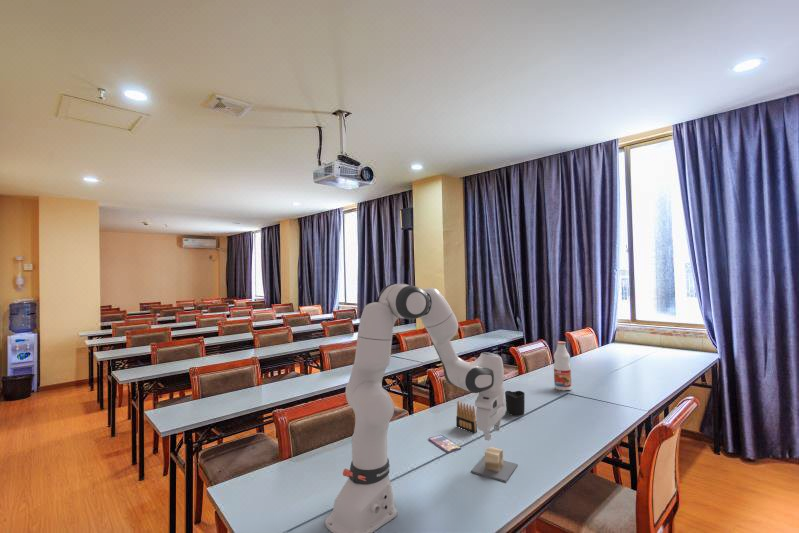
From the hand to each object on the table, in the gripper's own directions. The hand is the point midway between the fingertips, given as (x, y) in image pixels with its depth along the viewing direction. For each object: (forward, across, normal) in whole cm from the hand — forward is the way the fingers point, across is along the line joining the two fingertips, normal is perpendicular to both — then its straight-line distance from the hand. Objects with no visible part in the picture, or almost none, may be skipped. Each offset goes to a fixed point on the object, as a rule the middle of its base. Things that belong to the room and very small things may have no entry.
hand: (492, 435), depth 140 cm
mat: (+12, -1, 0) cm, 12 cm away
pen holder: (+12, -59, -10) cm, 61 cm away
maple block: (+12, 0, 0) cm, 12 cm away
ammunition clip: (+12, -28, -23) cm, 38 cm away
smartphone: (+13, -10, -25) cm, 30 cm away
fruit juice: (+11, -110, +4) cm, 110 cm away
